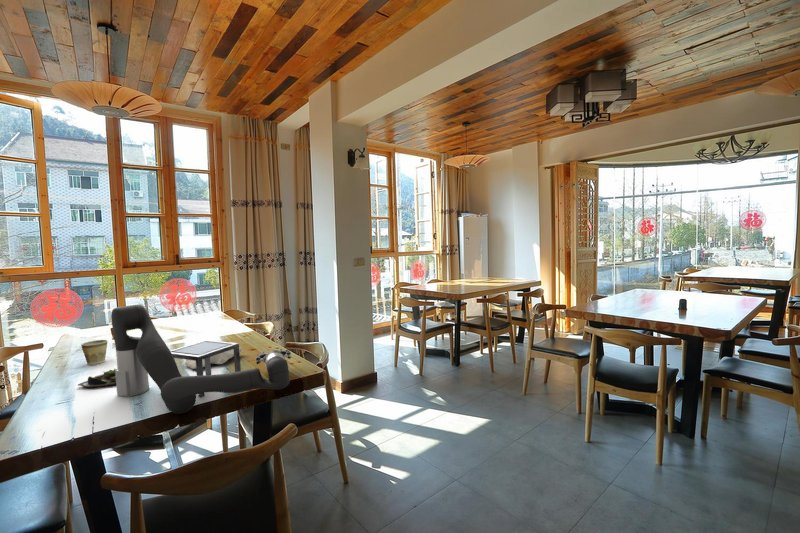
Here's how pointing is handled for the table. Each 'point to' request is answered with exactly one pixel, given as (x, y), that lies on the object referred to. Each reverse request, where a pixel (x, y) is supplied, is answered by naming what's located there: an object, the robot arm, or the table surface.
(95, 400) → the table surface
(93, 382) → the salad plate
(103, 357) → the ceramic cup
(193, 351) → the trapdoor
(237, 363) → the trapdoor frame
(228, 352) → the rock
